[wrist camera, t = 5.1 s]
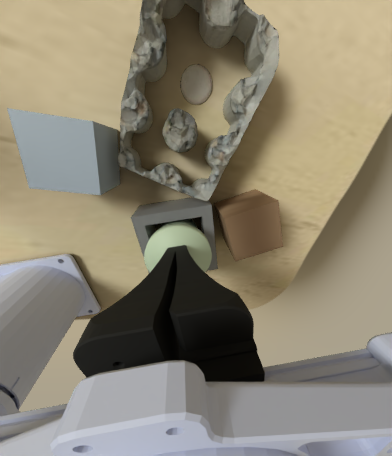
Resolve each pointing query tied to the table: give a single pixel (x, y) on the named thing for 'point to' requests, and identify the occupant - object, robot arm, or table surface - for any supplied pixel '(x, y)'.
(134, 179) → the table surface
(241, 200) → the walnut block
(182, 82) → the egg carton
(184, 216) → the button housing
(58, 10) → the table surface
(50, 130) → the slate-blue block
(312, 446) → the robot arm
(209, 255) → the green button
